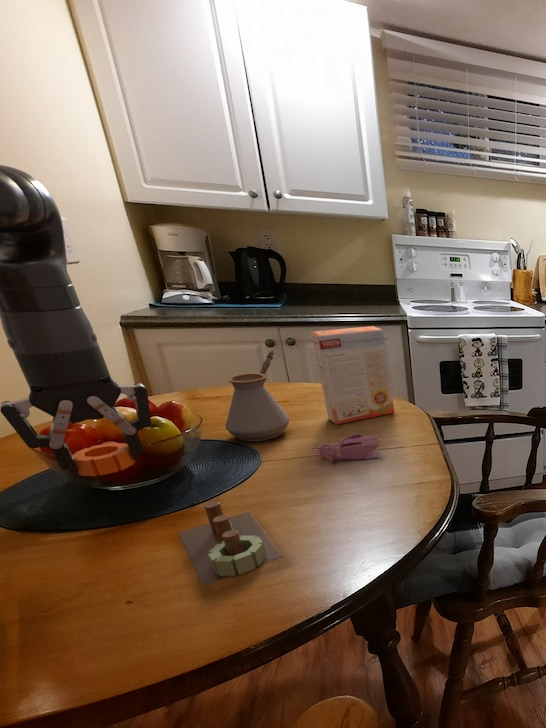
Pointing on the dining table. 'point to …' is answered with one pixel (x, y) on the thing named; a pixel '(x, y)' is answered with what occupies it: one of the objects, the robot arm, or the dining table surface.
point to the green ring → (238, 557)
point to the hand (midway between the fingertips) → (105, 463)
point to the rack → (218, 531)
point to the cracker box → (353, 373)
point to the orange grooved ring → (103, 459)
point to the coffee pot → (255, 408)
